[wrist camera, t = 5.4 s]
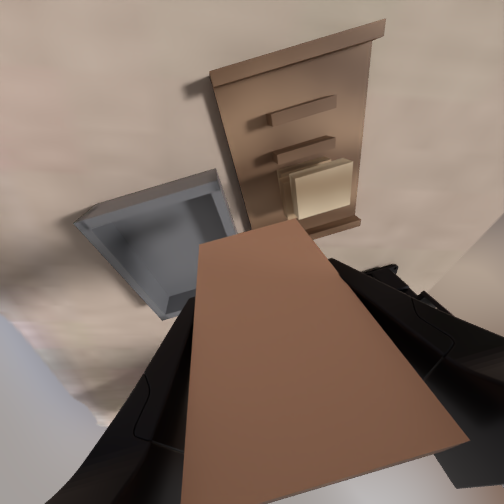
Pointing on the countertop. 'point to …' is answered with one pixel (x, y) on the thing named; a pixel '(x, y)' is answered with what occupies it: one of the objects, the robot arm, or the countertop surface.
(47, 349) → the countertop surface
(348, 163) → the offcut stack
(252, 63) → the rack
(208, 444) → the slat
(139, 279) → the tray
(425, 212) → the countertop surface
